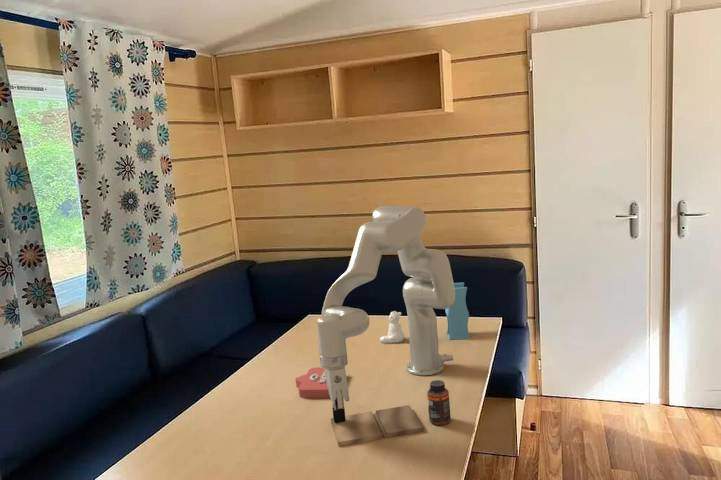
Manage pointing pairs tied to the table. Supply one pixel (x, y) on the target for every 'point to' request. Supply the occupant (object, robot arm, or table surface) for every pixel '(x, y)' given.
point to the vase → (458, 314)
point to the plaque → (313, 384)
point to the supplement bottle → (438, 403)
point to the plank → (356, 429)
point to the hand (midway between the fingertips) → (339, 420)
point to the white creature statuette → (393, 330)
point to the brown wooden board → (397, 421)
